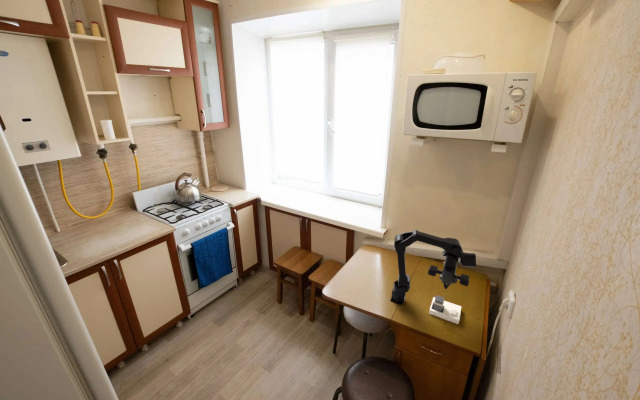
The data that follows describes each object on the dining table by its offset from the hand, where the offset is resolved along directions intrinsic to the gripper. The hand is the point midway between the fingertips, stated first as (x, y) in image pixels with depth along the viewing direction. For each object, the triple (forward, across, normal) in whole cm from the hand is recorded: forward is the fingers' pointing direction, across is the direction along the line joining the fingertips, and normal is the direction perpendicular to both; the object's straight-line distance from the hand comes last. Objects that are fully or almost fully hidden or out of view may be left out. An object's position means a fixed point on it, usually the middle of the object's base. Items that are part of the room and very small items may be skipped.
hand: (445, 288), depth 143 cm
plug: (+12, -2, -4) cm, 13 cm away
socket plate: (+12, +2, -2) cm, 13 cm away
